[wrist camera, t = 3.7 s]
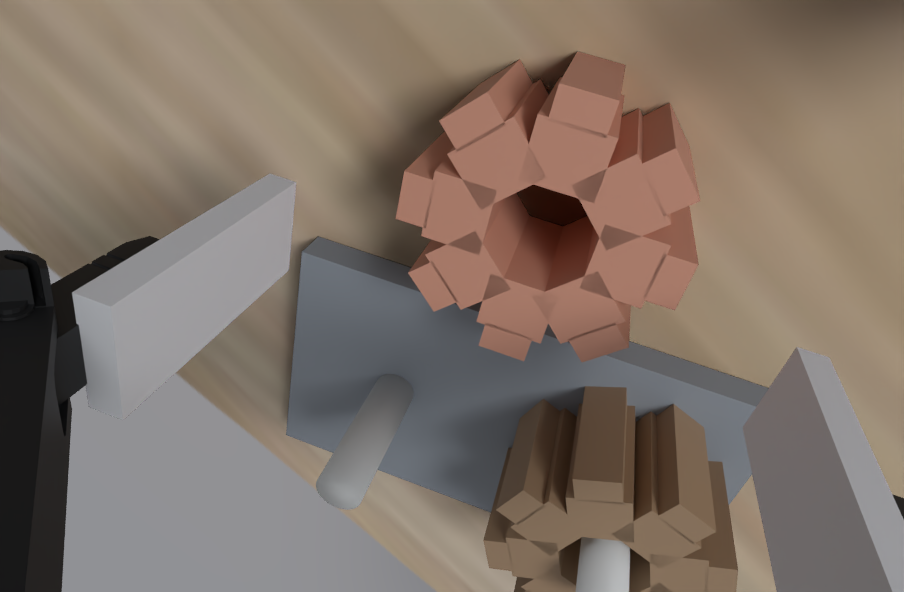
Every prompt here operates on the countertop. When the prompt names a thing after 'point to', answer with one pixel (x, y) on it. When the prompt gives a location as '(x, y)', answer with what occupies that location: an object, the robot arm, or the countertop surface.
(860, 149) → the countertop surface
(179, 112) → the countertop surface
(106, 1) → the countertop surface
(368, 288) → the gear board
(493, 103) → the gear
